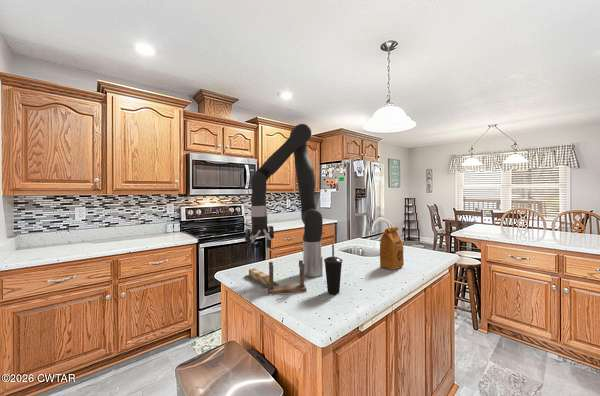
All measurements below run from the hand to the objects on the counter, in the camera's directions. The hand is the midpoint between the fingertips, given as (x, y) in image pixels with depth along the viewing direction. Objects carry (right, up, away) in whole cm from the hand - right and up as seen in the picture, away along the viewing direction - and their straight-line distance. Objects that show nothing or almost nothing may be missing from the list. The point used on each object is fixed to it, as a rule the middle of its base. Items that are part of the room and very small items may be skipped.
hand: (260, 249), depth 120 cm
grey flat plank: (0, -15, 0) cm, 15 cm away
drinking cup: (+33, -15, -15) cm, 39 cm away
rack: (+13, -15, -13) cm, 24 cm away
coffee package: (+69, -14, +18) cm, 73 cm away
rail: (0, -15, 0) cm, 15 cm away
